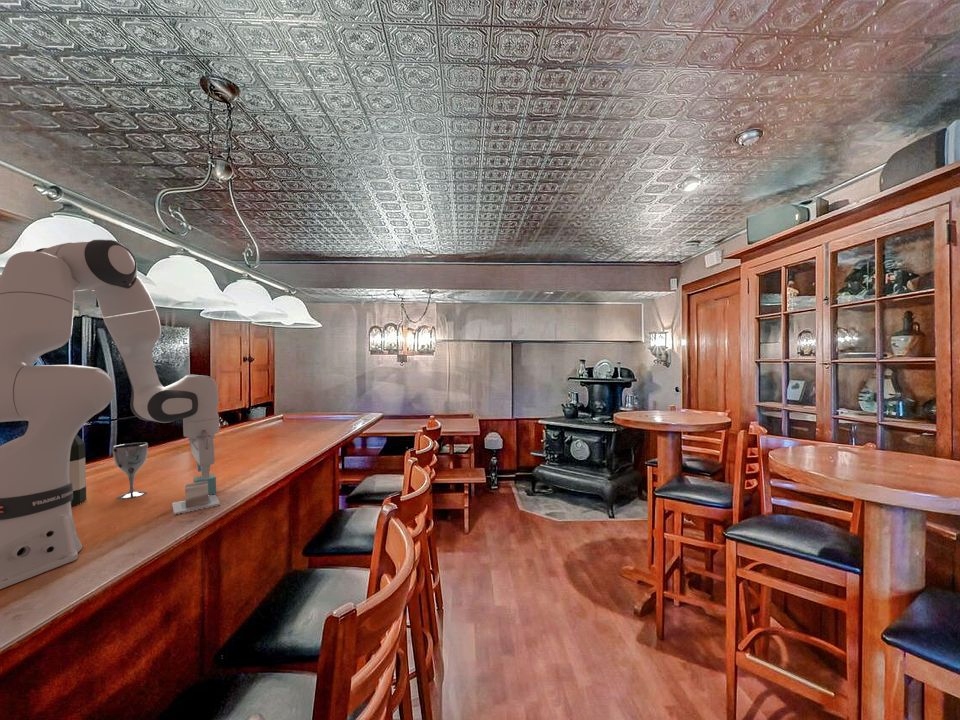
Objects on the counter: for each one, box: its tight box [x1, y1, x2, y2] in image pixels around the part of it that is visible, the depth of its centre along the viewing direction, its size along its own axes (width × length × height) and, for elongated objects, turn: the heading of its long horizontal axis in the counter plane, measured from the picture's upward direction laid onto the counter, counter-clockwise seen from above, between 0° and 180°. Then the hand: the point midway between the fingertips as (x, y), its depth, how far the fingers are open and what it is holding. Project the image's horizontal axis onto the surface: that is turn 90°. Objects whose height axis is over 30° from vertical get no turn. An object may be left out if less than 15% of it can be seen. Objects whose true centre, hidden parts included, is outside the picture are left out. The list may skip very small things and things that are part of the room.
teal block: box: [193, 473, 217, 495], centre depth 119 cm, size 5×5×5 cm
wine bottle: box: [69, 433, 87, 507], centre depth 113 cm, size 8×8×30 cm
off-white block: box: [184, 481, 208, 507], centre depth 110 cm, size 5×5×5 cm
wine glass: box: [112, 441, 149, 500], centre depth 119 cm, size 8×8×15 cm
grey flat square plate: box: [171, 493, 221, 516], centre depth 109 cm, size 10×10×1 cm
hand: (203, 474), depth 120 cm, fingers open, 8 cm apart
